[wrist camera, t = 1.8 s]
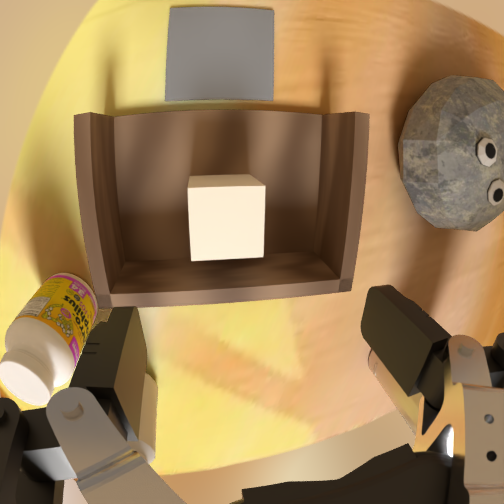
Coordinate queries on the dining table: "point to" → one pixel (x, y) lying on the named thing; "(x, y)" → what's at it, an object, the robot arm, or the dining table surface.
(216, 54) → the slate mat
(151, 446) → the can
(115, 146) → the walnut box
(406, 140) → the decorative stone
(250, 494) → the robot arm
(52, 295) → the supplement bottle
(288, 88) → the dining table surface
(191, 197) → the cream block
